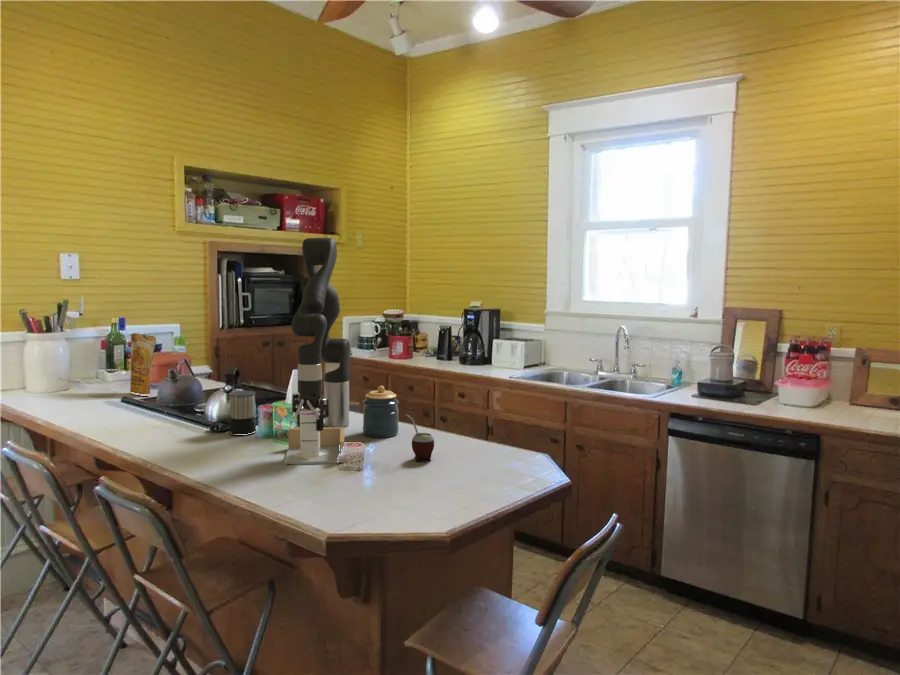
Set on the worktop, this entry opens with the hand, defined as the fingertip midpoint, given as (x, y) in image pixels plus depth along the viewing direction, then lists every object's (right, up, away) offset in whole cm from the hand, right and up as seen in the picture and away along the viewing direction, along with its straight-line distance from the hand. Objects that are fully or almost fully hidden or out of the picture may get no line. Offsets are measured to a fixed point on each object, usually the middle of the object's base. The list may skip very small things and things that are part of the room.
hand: (310, 428), depth 202 cm
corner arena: (+1, -9, +2) cm, 9 cm away
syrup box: (0, -8, +1) cm, 8 cm away
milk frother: (-34, -6, +30) cm, 46 cm away
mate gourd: (+35, -10, 0) cm, 36 cm away
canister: (+19, -7, +31) cm, 37 cm away
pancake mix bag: (-99, +2, +95) cm, 137 cm away
